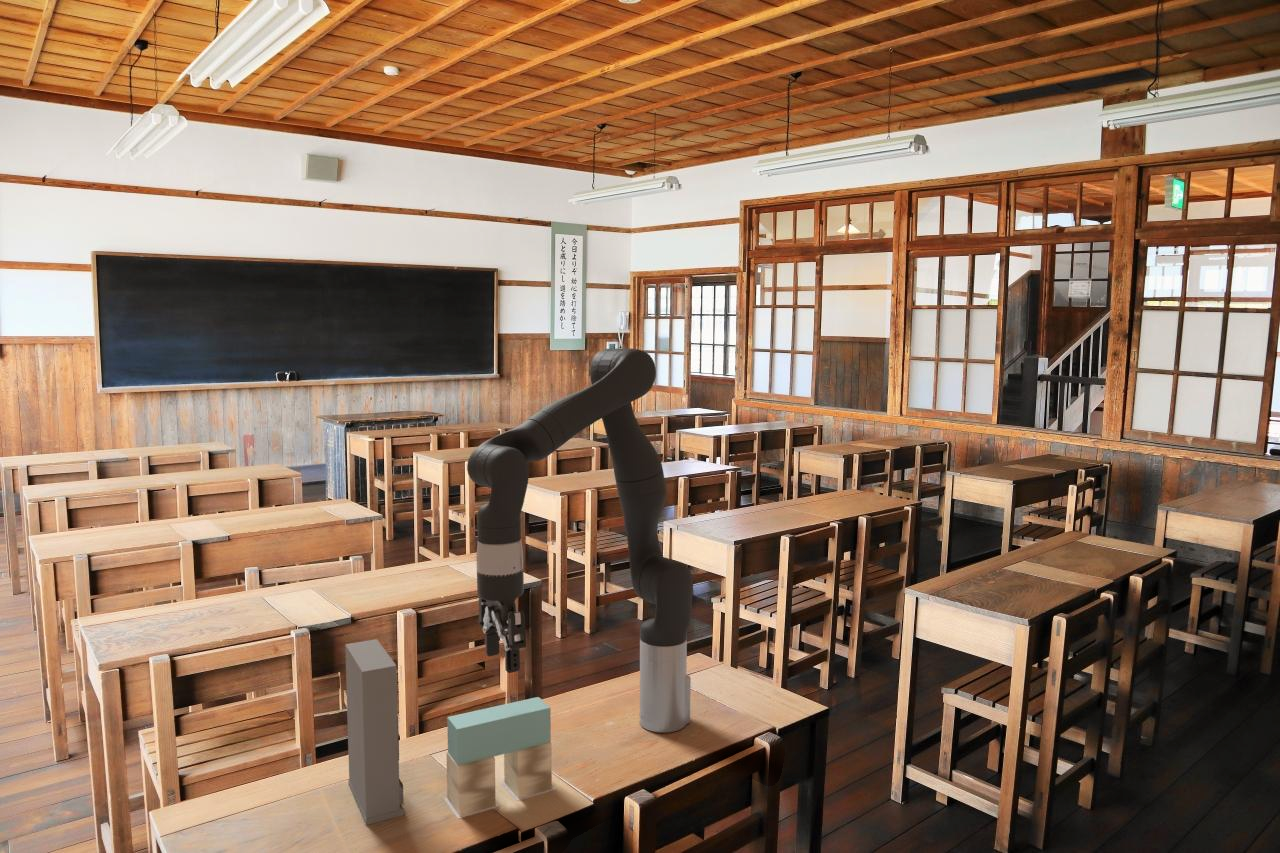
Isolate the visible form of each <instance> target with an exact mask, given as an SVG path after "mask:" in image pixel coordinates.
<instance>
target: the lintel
mask: <svg viewBox="0 0 1280 853" xmlns="http://www.w3.org/2000/svg"><path fill="white" fill-rule="evenodd" d="M551 709H552V708H551V707H550V706H549V705H548V704H547V703H546V702H545V701H544V700H543V699H542V698H540V697H539V696H537V697H530V698H528V699H523V700H518V701H513V702H509V703H505V704H500V705H495V706H492V707H486V708H481V709H478V710H474V711H472V710H471V711H469V712H464V713H460V714H455V715H450V716H447V719H446V722H447V724H446V725H447V752H448V753H449V755H450V756H451V757H452V759H453V760H454V762H455V763H456V764H457V766H459V765H463V764H467V763H471V762H475V761H479V760H483V759H486V758H490V757H494V758H495V757H497V756H501V755H504V754H506V753H510V752H514V751H518V750H522V749H526V748H530V747H534V746H538V745H542V744H546V743H550V742H551V743H552V741H551V740H552V739H551V738H552V733H551V728H552V727H551V724H552V723H551V721H552V720H551V718H552V717H551V714H552V713H551V711H552V710H551Z"/></svg>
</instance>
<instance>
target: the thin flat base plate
mask: <svg viewBox="0 0 1280 853" xmlns="http://www.w3.org/2000/svg"><path fill="white" fill-rule="evenodd" d="M500 783H501V785H502V786H503V787H504V788H505V789H506V791H508V793H509V794H510V795H511V796H512V797H513V799H514V800H515V801H516V802H520V801H522V800H525V799H530V798H532V797H536V796H539V795H542V794H546V793H549V792H552V791H556V790H557V789H556V788H555V787H554V786H553V785H552V789H549V790H546V791H543V792H539V793H536V794H533V795H529V796H526V797H523V798H519V799H518V797H517V796H516V795H515V794H514V793H513V792H512V791H511V789H510V788H509V787H508V786H507V785H506V784H505V780H503V781H500ZM443 800H444V801H445V803H446V805H447V806H448V807H449V808H450V810H451V811H452V813H453V815H454V816H455V818H457V820H459V819H462V818H467V817H469V816H472V815H476V814H479V813H482V812H486V811H490V810H493V809H496V808H499V807H500V804H498V802H497V801H496V806H492V807H489V808H486V809H482V810H479V811H476V812H472V813H469V814H466V815H462V816H459V814H458V813H457V812H456V810H455V809H454V807H453V806H452V805H451V803H450V802H449V800H448V799H447V796H446V797H443Z"/></svg>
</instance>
